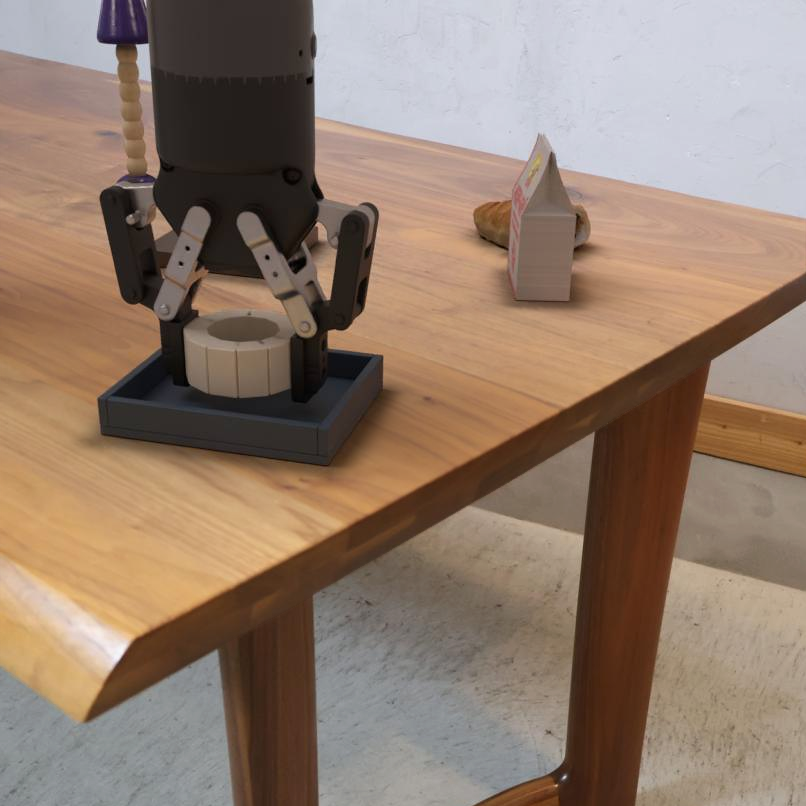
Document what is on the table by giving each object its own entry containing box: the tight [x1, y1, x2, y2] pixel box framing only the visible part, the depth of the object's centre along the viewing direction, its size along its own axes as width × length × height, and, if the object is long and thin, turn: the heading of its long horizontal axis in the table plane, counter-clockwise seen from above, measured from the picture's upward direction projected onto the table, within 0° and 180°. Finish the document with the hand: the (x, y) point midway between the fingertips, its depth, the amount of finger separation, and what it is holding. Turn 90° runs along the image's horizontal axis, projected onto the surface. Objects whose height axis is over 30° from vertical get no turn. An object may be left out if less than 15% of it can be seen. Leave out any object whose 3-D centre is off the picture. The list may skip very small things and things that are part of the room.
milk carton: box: [506, 132, 576, 302], centre depth 80 cm, size 4×7×10 cm, turn 2°
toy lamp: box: [96, 0, 157, 184], centre depth 96 cm, size 5×5×17 cm
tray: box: [96, 346, 384, 467], centre depth 61 cm, size 12×10×2 cm
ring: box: [183, 307, 296, 398], centre depth 60 cm, size 6×6×3 cm
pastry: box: [472, 199, 592, 250], centre depth 91 cm, size 9×7×4 cm
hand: (246, 388), depth 61 cm, fingers closed on ring, 6 cm apart
